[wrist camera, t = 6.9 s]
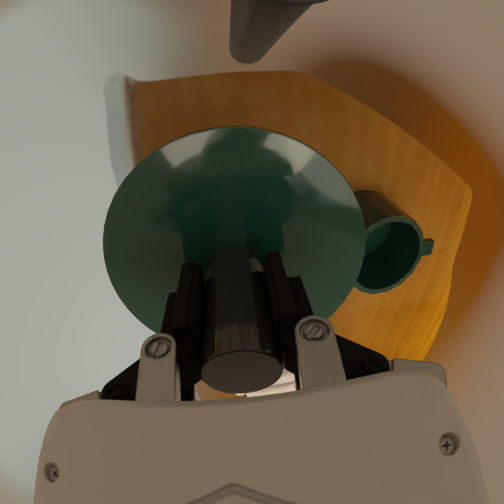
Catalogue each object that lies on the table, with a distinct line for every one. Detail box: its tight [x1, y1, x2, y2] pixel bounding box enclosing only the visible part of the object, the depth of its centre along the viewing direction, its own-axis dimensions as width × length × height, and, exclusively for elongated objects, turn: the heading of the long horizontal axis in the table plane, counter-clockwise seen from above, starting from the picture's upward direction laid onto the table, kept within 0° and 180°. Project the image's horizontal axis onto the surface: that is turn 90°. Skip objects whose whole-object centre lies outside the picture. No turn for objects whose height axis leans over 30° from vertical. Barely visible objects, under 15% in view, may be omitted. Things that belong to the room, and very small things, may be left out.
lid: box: [103, 126, 365, 394], centre depth 11 cm, size 14×14×7 cm
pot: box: [354, 191, 434, 294], centre depth 39 cm, size 13×18×10 cm
